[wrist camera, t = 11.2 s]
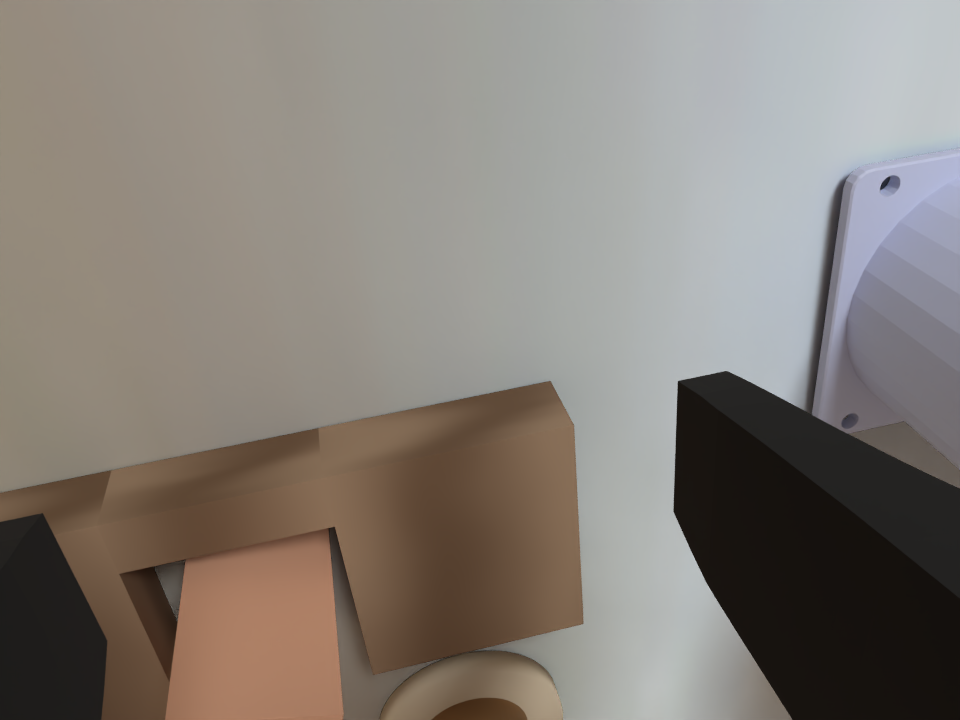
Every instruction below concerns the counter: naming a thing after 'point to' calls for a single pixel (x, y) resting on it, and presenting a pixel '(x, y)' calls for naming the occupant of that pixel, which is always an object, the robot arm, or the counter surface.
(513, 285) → the counter surface
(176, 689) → the salmon pink cuboid
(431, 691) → the bobbin
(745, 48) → the counter surface
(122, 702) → the notched board
